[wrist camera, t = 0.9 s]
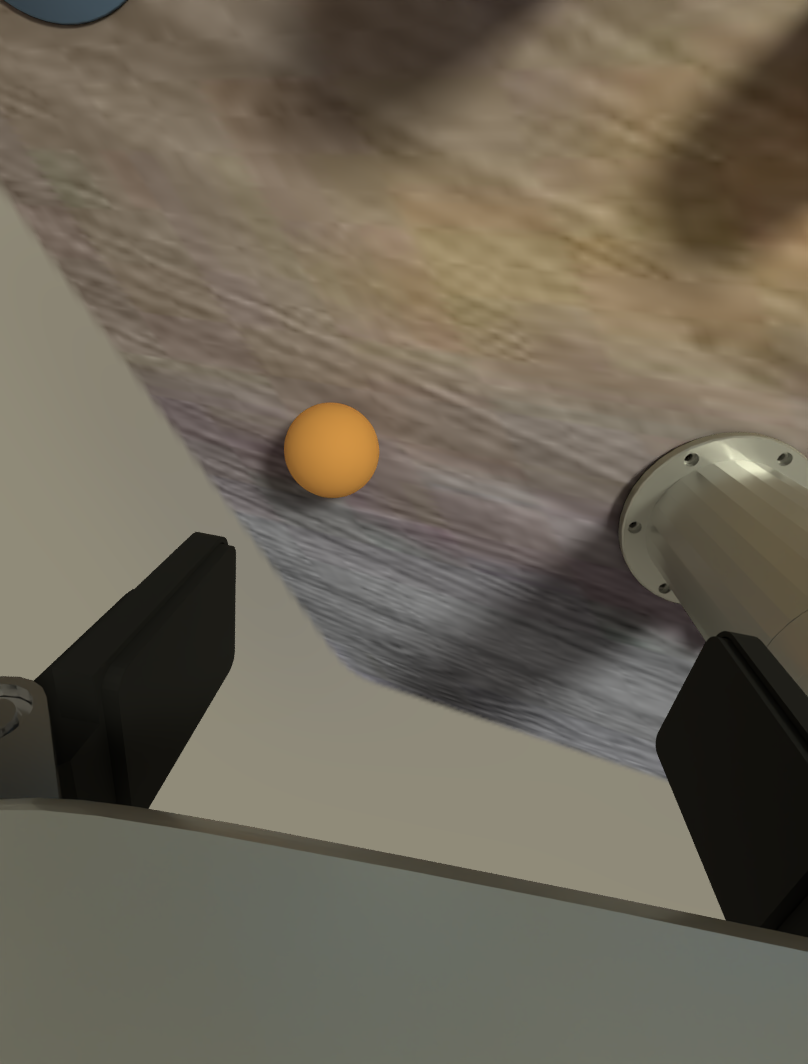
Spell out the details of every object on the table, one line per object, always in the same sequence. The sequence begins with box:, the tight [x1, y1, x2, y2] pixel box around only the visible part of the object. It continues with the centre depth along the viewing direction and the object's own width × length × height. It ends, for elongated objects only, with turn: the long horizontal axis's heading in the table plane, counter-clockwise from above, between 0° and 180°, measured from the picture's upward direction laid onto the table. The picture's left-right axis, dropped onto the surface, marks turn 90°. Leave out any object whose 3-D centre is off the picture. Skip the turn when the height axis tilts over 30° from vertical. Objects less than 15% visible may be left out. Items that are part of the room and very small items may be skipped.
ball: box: [284, 403, 379, 498], centre depth 33 cm, size 6×6×6 cm
